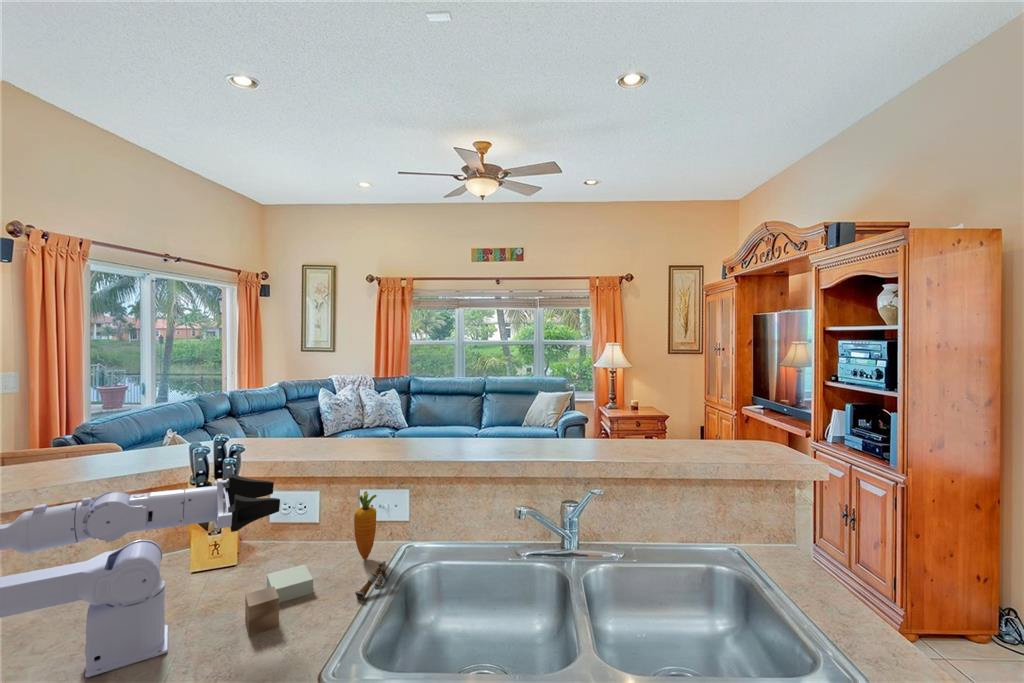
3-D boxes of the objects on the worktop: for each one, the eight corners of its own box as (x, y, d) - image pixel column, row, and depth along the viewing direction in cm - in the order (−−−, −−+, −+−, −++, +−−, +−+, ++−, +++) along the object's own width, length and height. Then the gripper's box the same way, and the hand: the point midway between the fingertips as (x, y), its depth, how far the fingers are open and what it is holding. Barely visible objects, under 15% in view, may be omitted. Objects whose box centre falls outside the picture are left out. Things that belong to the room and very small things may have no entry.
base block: (272, 606, 86) (272, 590, 86) (266, 589, 92) (266, 574, 92) (313, 594, 90) (313, 579, 90) (305, 578, 96) (305, 564, 96)
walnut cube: (248, 637, 77) (248, 606, 77) (245, 623, 80) (245, 594, 80) (278, 627, 79) (278, 597, 79) (274, 614, 83) (274, 586, 83)
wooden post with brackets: (393, 575, 95) (387, 559, 93) (368, 610, 89) (362, 593, 87) (386, 573, 96) (380, 557, 94) (361, 608, 89) (354, 591, 88)
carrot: (359, 553, 106) (360, 487, 106) (380, 555, 106) (381, 488, 105) (349, 564, 101) (349, 494, 101) (370, 565, 101) (371, 496, 100)
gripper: (185, 502, 70) (284, 490, 78) (186, 467, 82) (272, 460, 90) (181, 546, 71) (280, 531, 79) (183, 506, 83) (269, 495, 90)
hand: (276, 496), depth 84 cm, fingers open, 7 cm apart
